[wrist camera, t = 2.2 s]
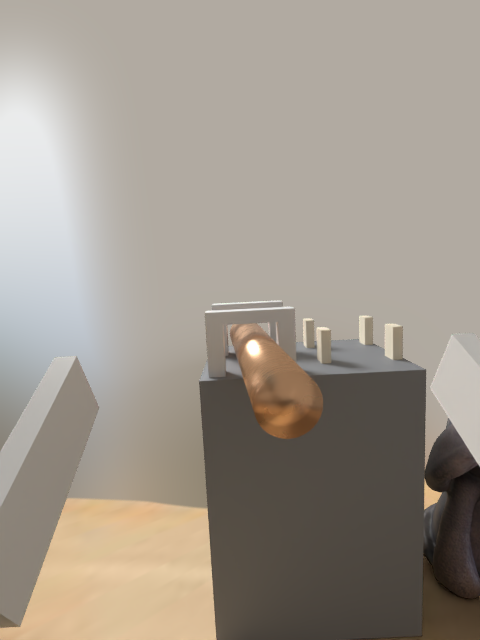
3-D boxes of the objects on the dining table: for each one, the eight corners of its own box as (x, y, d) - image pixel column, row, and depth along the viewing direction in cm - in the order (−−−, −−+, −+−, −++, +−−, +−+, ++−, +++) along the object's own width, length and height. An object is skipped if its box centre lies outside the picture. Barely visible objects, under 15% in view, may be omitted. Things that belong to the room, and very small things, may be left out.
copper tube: (294, 451, 20) (337, 397, 20) (239, 413, 20) (282, 356, 19) (248, 354, 46) (266, 330, 46) (223, 336, 45) (242, 312, 45)
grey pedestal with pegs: (217, 646, 36) (194, 314, 31) (223, 532, 51) (209, 301, 47) (421, 636, 35) (427, 302, 31) (365, 525, 51) (363, 294, 47)
